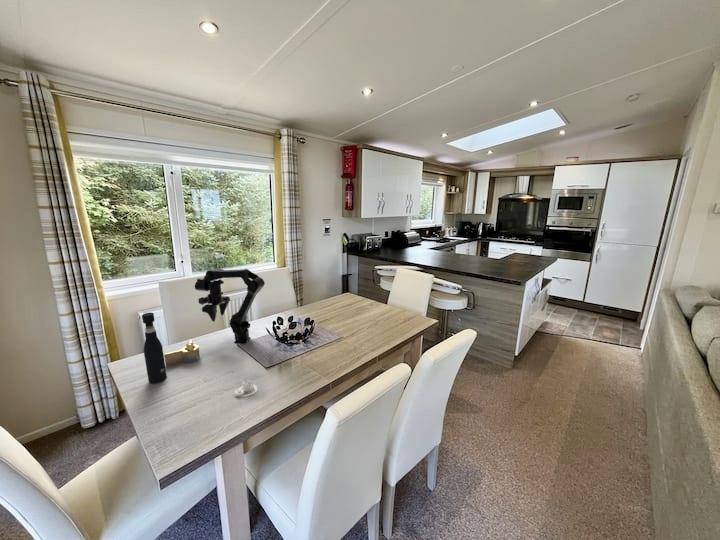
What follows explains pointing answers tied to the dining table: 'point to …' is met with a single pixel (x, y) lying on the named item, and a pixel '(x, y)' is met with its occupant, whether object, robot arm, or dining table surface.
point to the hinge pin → (189, 346)
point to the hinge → (182, 355)
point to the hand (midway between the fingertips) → (218, 318)
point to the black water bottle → (153, 352)
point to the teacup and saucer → (246, 388)
